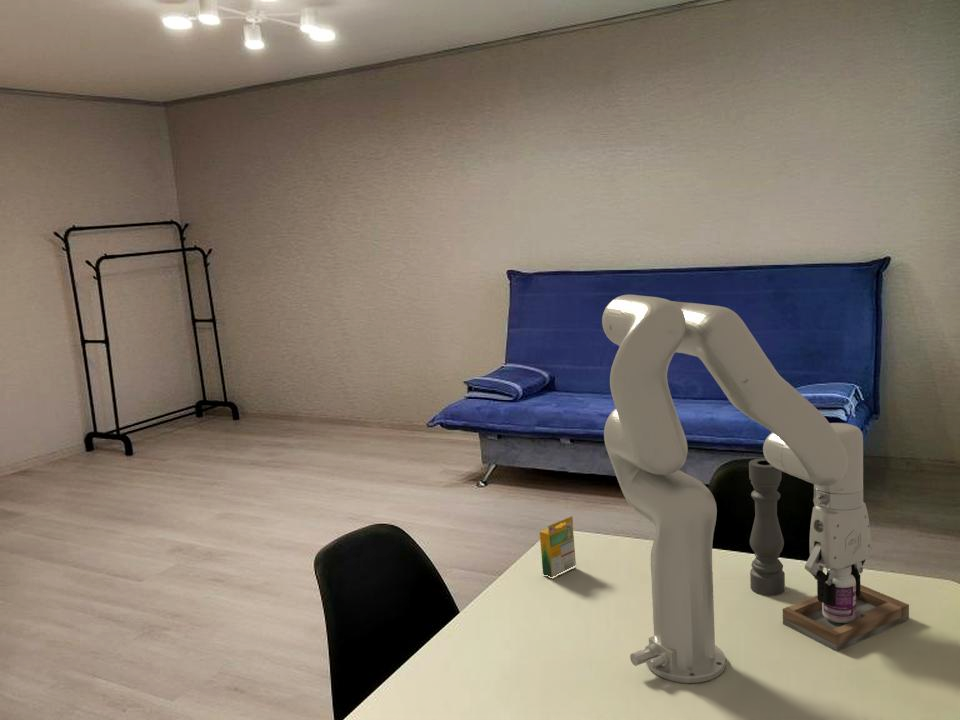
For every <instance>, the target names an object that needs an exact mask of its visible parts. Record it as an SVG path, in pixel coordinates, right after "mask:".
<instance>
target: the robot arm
mask: <svg viewBox="0 0 960 720" xmlns="http://www.w3.org/2000/svg"><path fill="white" fill-rule="evenodd" d="M601 320H602V321H601V325H602V328H603V329H602V330H603V332H604V334H605V335H606V337H607V338H608V339H609V341H611V342H612V343H613V344H615V345H617V346H618V350H617V352H616V354H615V357H614V360H613V362H612V365H611V368H610V375H609V388H610V392H611V393H610V394H611V396H612V400H613V404H614V406H615V408H614V409H613V410H612V411H611V413H609V415H608V417H607V419H606V422H605V425H604V429H603V438H604V439H603V440H604V445H605V449H606V452H607V454H608V457H609V460H610V464H611V466H612V468H613V471H614V474H615V477H616V478H617V482H618V484H619V487H620V489H621V492H622V494H623V496H624V498H625V500H626V501H627V504H628V505H629V506H630V508H632V510H634V511H635V512H636V513H637V514H638V515H640V516H641V517H643V518H645V519H646V520H647V521H648V522H650V523H651V524H653V526H654V527H655V536H654V539H653V541H652V546H651V551H650V575H651V578H650V579H651V596H652V599H651V600H652V617H653V618H652V619H653V622H652V623H653V636H651V637H648V645H646V646H645V648H644V649H641V650H638V651H635V652H633V653H630V654H629V655H630V656H629V657H630V658H629V659H630V662H631V664H632V665H633V666H635V667H638V666H640V665H642V664H645V663H646V665H647V667H648V669H650V671H651V672H653V673H654V674H655V675H657V676H658V677H661V678H664V679H666V680H669V681H673V682H676V683H683V684H684V683H685V684H694V683H704V682H708V681H710V680H713V679H716V678H717V677H718V676H720V675H721V674H722V673H723V672H724V670H725V669H726V665H727V664H726V663H727V661H726V656H725V653H724V652H723V650H722V649H721V648H720V647H718V646H717V645H716V642H715V641H716V639H715V638H716V637H715V610H714V609H715V608H714V607H715V604H714V602H715V601H714V576H713V575H714V573H713V540H714V533H715V529H716V528H715V527H716V522H717V514H718V513H717V512H718V509H717V502H716V500H715V497H714V495H713V493H712V492H711V490H710V489H709V488H708V487H707V486H706V485H705V484H704V483H703V482H702V481H700V480H699V479H698V478H695V477H693V476H692V475H690V474H687V473H685V472H684V471H682V470H681V468H682V467H683V466H684V464H685V462H686V460H687V458H688V457H687V456H688V449H689V447H688V440H687V437H686V434H685V431H684V429H683V425H682V423H681V421H680V418H679V414H678V412H677V409H676V405H675V404H674V400H673V397H672V394H671V391H670V387H669V383H668V371H669V366H670V363H671V361H672V359H673V357H674V355H675V353H678V354H684V355H689V356H693V357H697V358H698V359H699V360H700V361H701V362H702V363H703V365H704V366H705V368H706V369H707V371H708V372H709V373H710V374H711V376H712V377H713V379H714V380H715V382H716V383H717V384H718V387H720V389H721V390H722V392H723V394H724V395H725V396H726V397H727V400H728V401H729V402H730V403H731V404H732V405H733V407H735V408H736V409H737V410H739V411H740V412H741V413H742V414H743V415H745V416H746V417H748V418H750V419H751V420H753V421H755V422H757V424H759V425H761V426H763V427H765V429H768V430H769V431H770V432H771V433H770V434H768V435H767V437H766V438H765V441H764V442H763V446H762V452H763V456H764V458H766V460H767V461H768V463H769V464H771V465H772V466H773V467H774V468H776V469H778V470H780V471H781V472H783V473H786V474H788V475H790V476H792V477H796V478H798V479H801V480H803V481H805V482H808V483H811V484H813V499H812V502H813V505H814V506H813V507H812V512H811V519H810V525H809V527H810V529H809V545H808V546H809V557H808V559H807V561H806V563H805V565H804V569H805V570H806V571H807V572H808V573H809V574H811V575H812V577H813V578H814V579H815V580H816V585H817V586H816V588H817V589H816V592H817V595H816V596H817V599H818V600H819V601H820V602H822V603H825V604H827V605H829V606H831V607H833V606H835V584H833V583H832V582H833V577H834V573H835V570H839V569H842V568H845V567H848V566H850V565H851V570H852V572H851V574H852V575H853V576H854V578H855V580H856V597H858V596H860V585H861V574H862V573H864V572H863V571H864V568H863V566H864V564H865V562H866V560H867V559H868V558H869V557H870V556H871V550H872V545H871V544H872V542H871V527H870V519H869V514H868V513H869V512H868V509H867V506H866V503H865V502H864V435H863V432H862V430H861V429H860V428H859V426H856V425H853V424H850V423H843V422H829V420H828V419H827V418H826V417H825V416H824V414H822V413H821V411H820V410H819V409H817V407H816V406H814V405H813V404H812V402H810V401H809V400H808V399H807V398H805V396H803V395H802V394H801V393H800V392H799V391H798V390H797V389H796V388H795V387H794V386H792V385H791V384H790V383H789V382H788V381H786V379H784V378H783V377H782V376H781V375H780V374H779V373H778V372H777V370H776V369H775V367H774V365H773V363H772V362H771V360H770V359H769V358H768V357H767V355H766V354H765V352H764V351H763V349H762V348H761V346H760V345H759V343H758V341H757V340H756V338H755V337H754V335H753V334H752V333H751V331H750V330H749V328H748V327H747V325H746V323H745V322H744V321H743V319H742V318H741V317H740V316H739V314H738V313H736V312H735V311H734V310H733V309H730V308H728V307H725V306H720V305H714V304H713V305H712V304H704V303H697V302H696V303H695V302H683V301H672V300H669V299H668V298H667V299H666V298H662V297H658V296H650V295H649V296H648V295H639V294H638V295H637V294H624V295H620V296H617V297H615V298H614V299H612V300H611V301H610V302H609V303H608V304H607V306H605V308H604V311H603V314H602V317H601ZM824 568H825V569H826V568H827V569H828V570H827V571H826V572H827V575H826V574H825V572H824Z"/></svg>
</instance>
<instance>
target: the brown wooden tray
mask: <svg viewBox="0 0 960 720" xmlns="http://www.w3.org/2000/svg"><path fill="white" fill-rule="evenodd" d="M909 620H910V604H909V603H907V602H903V601H902V600H899V599H896V598H894V597H891V596H889V595H887V594H884V593H881V592H880V591H877V590H874V589H873V588H870V587H867V586H865V585H863V584H860V596H858V597H856V618H855V619H854V620H853V621H852V622H849V623H837V622H833V621H830V620H828V619H826V618H825V617H824V616H823V614H822V602H820V601H819V600H818V599H817V595H814V596H812V597H810V598H807V599H804V600H801V601H800V602H797V603H795V604H791V605H789V606H786V607H783V608H782V625H784V626H787V627H788V628H791V629H792V630H794V631H796V632H799V634H802V635H804V636H806V637H808V638H810V639H812V640H813V641H816V642H818V643H820V644H822V645H824V646H825V647H827V648H829V649H831V650H833V651H836V652H837V651H841V650H842V649H845V648H847V647H849V646H852V645H854V644H857V643H858V642H861V641H863V640H865V639H867V638H870V637H873V636H874V635H877V634H879V633H881V632H884V631H886V630H889V629H891V628H893V627H896V626H897V625H899V624H902V623H905V622H907V621H909Z"/></svg>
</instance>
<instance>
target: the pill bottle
mask: <svg viewBox="0 0 960 720" xmlns="http://www.w3.org/2000/svg"><path fill="white" fill-rule="evenodd" d="M825 570H826V571H825V572H824V573H825V574H826V575H827V570H828V569H827V568H825ZM851 572H852V570H851V565H850V566H848V567H845V568H842V569H839V570H835V573H834V577H833V582H832V583H833V584H835V606H833V607H831V606H829V605H827V604H825V603H822V614H823V616H824V617H825V618H826V619H828V620H830V621H833V622H837V623H849V622H852V621H853V620H854V619H855V618H856V580H855V578H854V576H853V575H852V574H851Z"/></svg>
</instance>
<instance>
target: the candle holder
mask: <svg viewBox="0 0 960 720" xmlns="http://www.w3.org/2000/svg"><path fill="white" fill-rule="evenodd" d="M748 474H749V475H748V477H749V480H750V484H751V485H752V487H753V490H752V491H751V494H750V496H751V498H752V499H753V501H754V512H755V513H754V514H755V516H754V520H753V524H752V529H751V533H750V536H749V545H750V548H751V549H752V551H753V552H754V556H755V558H754V559H753V560H752V562H751V569H750V572H749V573H750V574H749V575H750V576H749V577H750V579H749V580H750V581H749V582H750V589H751V591H752V592H753V593H754V594H755V593H756V594H757V595H761V596H767V597H775V596H781V595H782V594H784V593H785V590H786V585H785V584H786V577H785V576H786V575H785V572H784V570H783V569H784V564H783V563H782V561H780V559H779V558H780V554H781V553H782V552H783V550H784V549H783V548H784V546H785V539H784V536H783V533H782V530H781V526H780V522H779V517H778V514H777V513H778V500H780V499H781V493H780V492H779V491H778V488H779V486H780V485H781V484H780V483H781V481H782V471H780V470H778V469H776V468H774V467H773V466H772V465H771V464H769V463H768V461H767V460H766V458H765V457H764V458H762V457H761V458H755V459H751V460H750V461H749V462H748Z"/></svg>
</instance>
